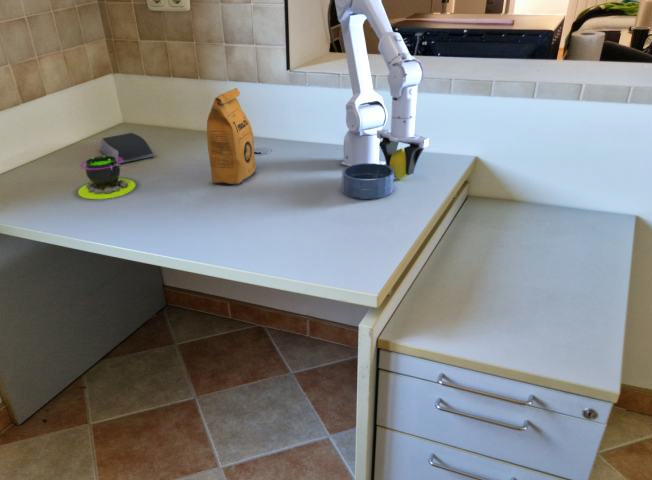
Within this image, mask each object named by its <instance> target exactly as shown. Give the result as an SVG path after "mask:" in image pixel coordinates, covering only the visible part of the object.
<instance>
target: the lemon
mask: <svg viewBox="0 0 652 480" xmlns="http://www.w3.org/2000/svg"><path fill="white" fill-rule="evenodd" d="M389 167H391V168H393V170H394V178H396V179H397V180H398V181H402V179H403V178H406V177H408V175H406V156H405V151H404V148H403V147H402V148H399V149H397V151H395V152H394V153H393V154H392V156H391V159H390V165H389Z"/></svg>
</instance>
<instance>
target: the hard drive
mask: <svg viewBox="0 0 652 480" xmlns="http://www.w3.org/2000/svg"><path fill="white" fill-rule="evenodd" d="M105 145H106V146H105ZM99 149H103V150H100V152H101V154H103V156H112V157H113V156H114V157H115V156H116V157H118V156H119V158H120V159H121V158H122V159H123V162H122V161H121V160H120V161H121V163H120V164H123V163H129V162H133V161H138V160H143V159H147V158H153V157H155V154H154V152H153V150H152V148H151V147H150V145H149V144H148V143H147V141H146V140H145V139H144V138H143V137H141V136H140V135H139V134H136V133H134V132H129V133H124V134H118V135H113V136H112V135H111V136H107V137H101V139H100V143H99ZM110 149H111V150H110ZM112 150H113V151H112ZM113 153H114V154H113ZM116 161H117V162H120V161H119V159H117V158H116Z"/></svg>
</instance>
